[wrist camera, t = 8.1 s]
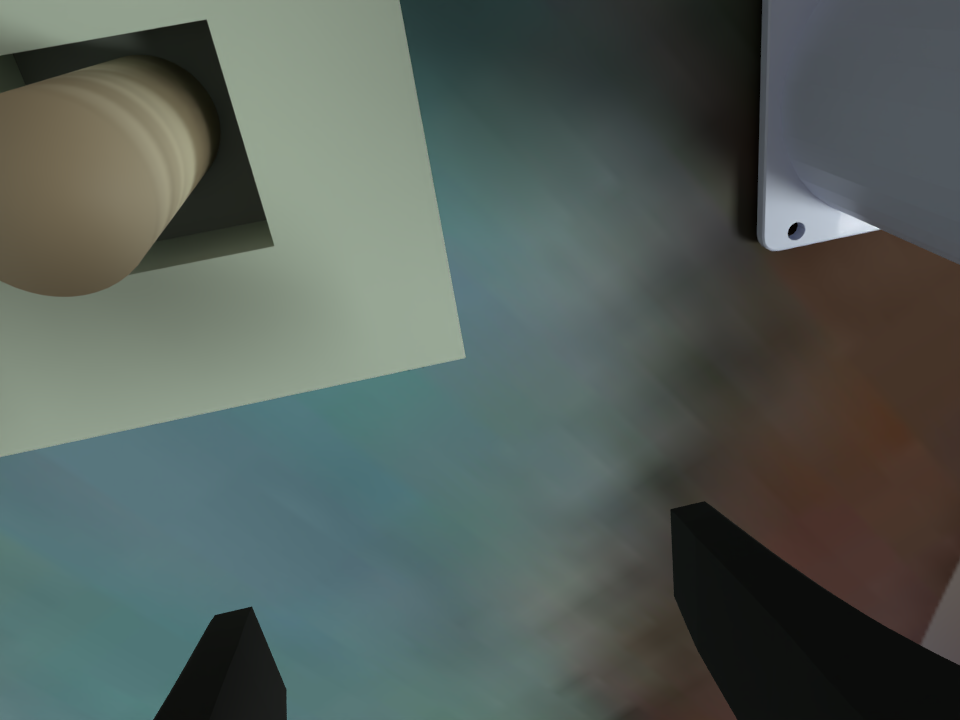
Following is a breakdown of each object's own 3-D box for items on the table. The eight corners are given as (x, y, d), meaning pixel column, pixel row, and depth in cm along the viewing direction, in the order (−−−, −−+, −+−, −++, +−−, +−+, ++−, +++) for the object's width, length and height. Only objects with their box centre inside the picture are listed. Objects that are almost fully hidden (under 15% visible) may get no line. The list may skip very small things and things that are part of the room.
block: (351, -211, 15) (352, -254, 13) (450, 311, 21) (465, 357, 18) (-254, -117, 14) (-389, -142, 12) (18, 400, 20) (-32, 463, 17)
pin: (209, 53, 16) (131, 90, 10) (229, 187, 18) (172, 290, 12) (65, 55, 16) (-105, 94, 10) (98, 192, 17) (-35, 302, 11)
